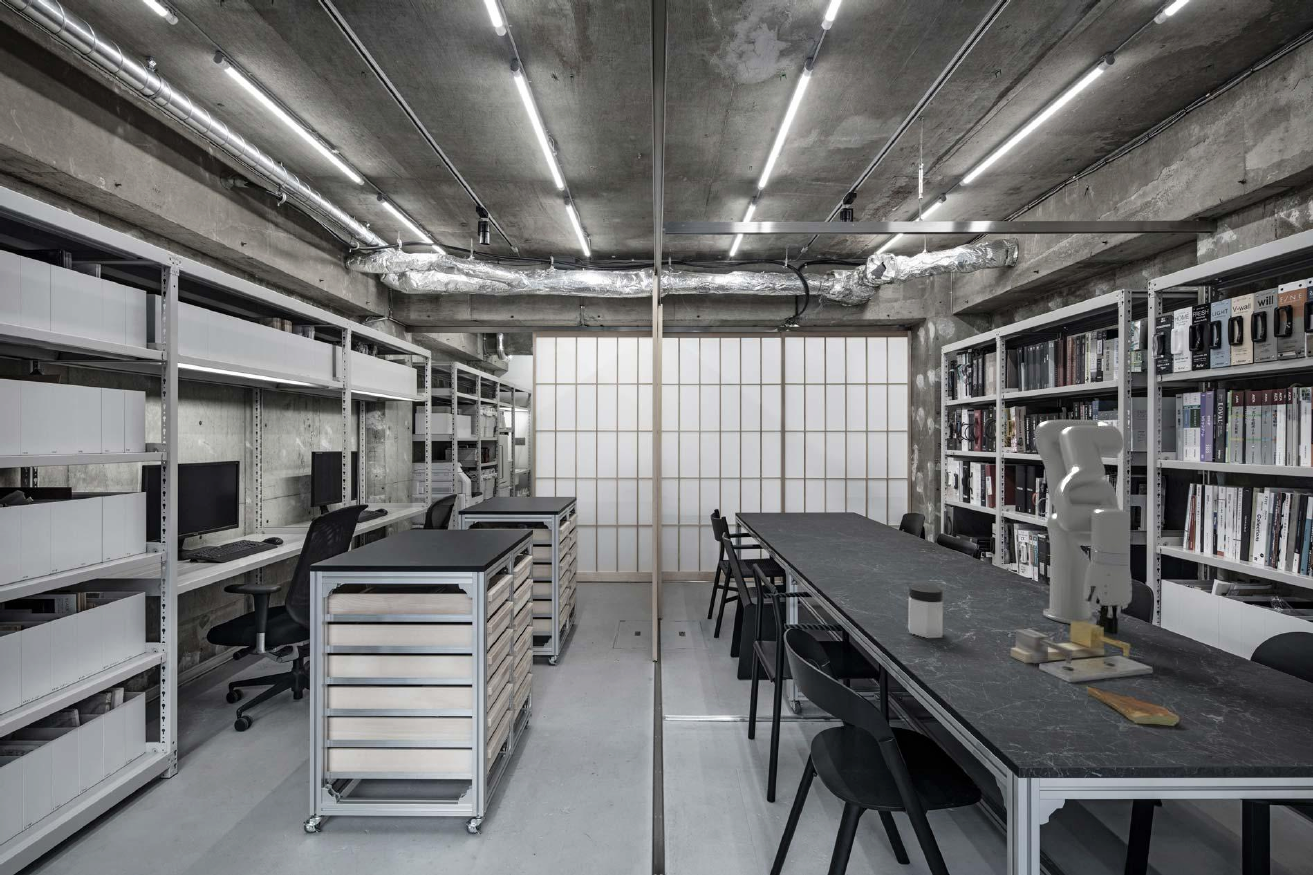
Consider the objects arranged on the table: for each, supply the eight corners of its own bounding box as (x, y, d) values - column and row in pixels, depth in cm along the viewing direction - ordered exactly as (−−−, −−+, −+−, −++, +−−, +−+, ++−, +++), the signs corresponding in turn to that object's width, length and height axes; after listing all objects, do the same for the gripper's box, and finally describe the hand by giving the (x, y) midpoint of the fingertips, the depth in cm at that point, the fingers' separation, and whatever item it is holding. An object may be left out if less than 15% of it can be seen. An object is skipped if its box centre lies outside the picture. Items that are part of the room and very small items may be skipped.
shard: (1084, 693, 114) (1084, 682, 114) (1132, 696, 113) (1133, 685, 113) (1132, 725, 101) (1132, 713, 101) (1187, 729, 100) (1187, 717, 100)
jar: (948, 634, 147) (949, 589, 147) (935, 641, 141) (935, 594, 142) (915, 625, 154) (916, 582, 154) (901, 631, 148) (901, 586, 148)
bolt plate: (1119, 660, 131) (1119, 655, 131) (1152, 672, 124) (1152, 667, 124) (1039, 668, 125) (1039, 663, 125) (1069, 682, 118) (1069, 676, 118)
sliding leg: (1082, 639, 138) (1083, 620, 139) (1134, 658, 127) (1135, 637, 127) (1070, 640, 138) (1070, 621, 138) (1121, 659, 126) (1122, 638, 126)
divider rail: (1085, 648, 139) (1086, 624, 139) (1137, 667, 127) (1138, 641, 127) (1008, 655, 133) (1009, 630, 133) (1056, 676, 121) (1056, 649, 121)
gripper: (1116, 554, 143) (1115, 625, 143) (1071, 556, 139) (1070, 629, 139) (1148, 560, 136) (1147, 635, 135) (1102, 562, 132) (1101, 639, 132)
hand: (1108, 632), depth 137 cm, fingers closed
